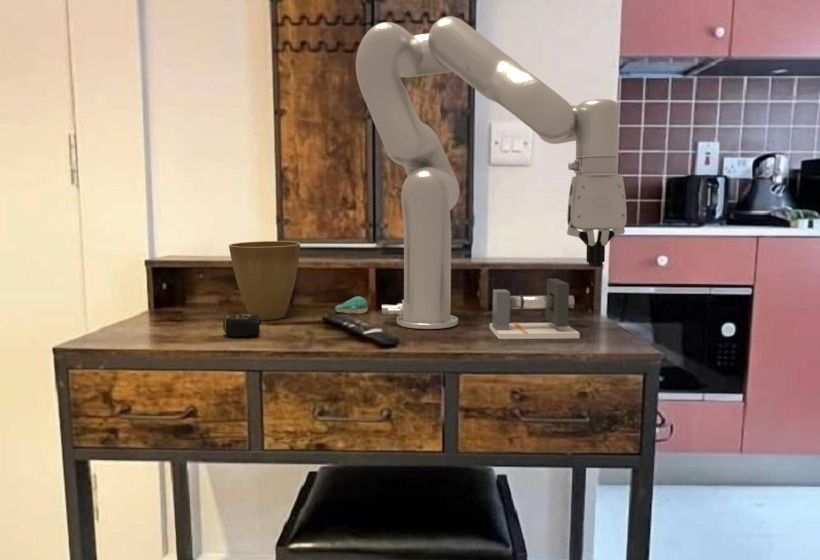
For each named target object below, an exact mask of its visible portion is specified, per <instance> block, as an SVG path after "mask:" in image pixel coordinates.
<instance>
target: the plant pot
mask: <svg viewBox="0 0 820 560" xmlns="http://www.w3.org/2000/svg"><path fill="white" fill-rule="evenodd" d="M228 248H229V253H230V258H231V264H232V268H233V272H234V275H235V281H236V284H237V287H238V289H239V292H240V296H241V298H242V300H243V303H244V306H245V309H246V310H247V314H248V315H258V316H259V317H260V320H261V319H262V321H271V320H278V319H283V318H285V317H286V314H287V311H288V309H289V307H290V306H289V305H290V303H291V299H292V296H293V291H294V288H295V283H296V279H297V273H298V267H299V261H300V259H299V258H300V252H301V242H297V241H291V240H290V241H289V240H262V241H261V240H260V241H259V240H258V241H246V242H244V241H243V242H235V243H230V244H228Z"/></svg>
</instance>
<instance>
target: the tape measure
mask: <svg viewBox="0 0 820 560" xmlns="http://www.w3.org/2000/svg"><path fill="white" fill-rule="evenodd" d="M262 321H263V320H262V319H261V320H260V317H259V316H258V315H249V313H236V314H229V315H226V316H225V317H224V319H223V324H222V326H223V327H222V328H223V331H224V333H225V334H226V335H227V336H232V337H247V336H252V335H253V336H254V335H257V334H259V333H260V325H262Z"/></svg>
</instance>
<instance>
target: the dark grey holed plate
mask: <svg viewBox="0 0 820 560" xmlns="http://www.w3.org/2000/svg"><path fill="white" fill-rule="evenodd" d="M569 292H570V283H568V282H565V281H563V280H561V279H559V278H546V295H545V296H554V308H545V320H547V321H548V322H549V323H552V324H554V325H555V326H557V327H568V326H569V308H568V302H569V296H570V293H569Z"/></svg>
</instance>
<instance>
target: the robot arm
mask: <svg viewBox="0 0 820 560" xmlns="http://www.w3.org/2000/svg"><path fill="white" fill-rule="evenodd" d="M452 72H453V73H454V74H455V75H456V76H458V77H459V78H461V79H462V80H463V81H464V82H465V83H467V84H468V85H469V86H470V87H472V88H473V89H475V91H477V92H478V93H479V94H480V95H481V96H483V97H484V98H486V99H488V100H490V101H492V102H495V103H496V104H498V105H500V106H501V107H503V108H504V109H505V110H507V111H508V112H510V113H511V114H512V115H514V116H515V117H516V118H517V119H518V120H520V122H522V123H523V124H525V126H527V127H529V129H531V130H532V131H534V133H536V134H537V135H538V137H539V138H540V139H541V140H542V141H544V142H545V143H548V144H552V145H557V144H558V145H559V144H563V143H564V144H565V143H568V142H569V143H570V142H575V159H574V161H573V162H568V166H567V168H568V170H569V171H573V172H574V174H575V176H572V178H571V182H570V188H569V193H568V202H567V203H568V204H567V215H566V216H567V225H568V226H567V231H566V234H567V235H568V236H571V237H575V238H579V239H580V240H581V241H582V242H583V243H584V245H585V246H586V263H588V266H589V267H592V268H603V263H605V261H606V256H605V255H606V246H607V245H608V243H609V242H610V241H611V240H612V239H613V238H614V237H617V236H620V235H624V234H625V232H626V231H625V227H626V225H627V221H628V219H627V217H628V216H627V215H628V214H627V211H628V210H627V199H626V198H627V197H626V190H625V183H624V179H623V178H624V177H623V175H622V174H621V175H620V174H619V173H618V170H619V169H618V168H619V167H618V163H619V162H618V161H619V160H618V157H619V106H618V103H617V102H616V101H615V100H612V99H608V98H607V99H606V98H599V99H589V100H585V101H582V102H580V103H578V104H577V105H575V104H574V105H571V103H569V102H568V101H567V100H566V99H565V98H563V97H562V96H561V95H560V94H559V93H557V92H556V91H555V90H553V89H552V88H551V87H550V86H548V85H547V84H546V83H544V82H543V81H542V80H541V79H539V78H538V77H536V76H535V75H533V73H531V72H530V71H528V69H526V68H524V67H523V66H522V65H521V64H520V63H518V61H516V60H514V59H513V58H512V57H511V56H509V55H508V54H507V53H506V52H504V51H503V50H501V49H500V48H499V47H497V45H495V44H493V43H492V42H491V41H490V40H489V39H487V38H486V37H484V36H483V34H481V33H480V32H478V31H477V30H475V29H474V28H473V27H472V26H471V25H469V24H468V23H466V21H464V20H462V19H461V18H458V17H456V16H453V15H452V16H451V15H449V16H444V17H441V18H440V19H439V18H438V20H437V21H436V22H434V23H433V25H432V26H431V28H430V29H429V32H428V33H423V34H413V35H412V34H411V33H410V32H409V31H408V30H406V29H405V28H404V27H402V26H401V25H399V24H398V23H395V22H391V21H390V22H388V21H385V22H384V21H383V22H379V23H377V24H375V25H373V26H372V27H371V28H369V30H368V31H367V32H366V33H365V34H364V36H363V38H362V39H361V42H360V43H359V46H358V48H357V52H356V58H355V74H356V79H357V83H358V87H359V90H360V91H361V92H360V93H361V94H362V97H363V99H364V102H365V104H366V106H367V108H368V111H369V113H370V116H371V118H372V121H373V123H374V126H375V129H376V131H377V132H378V135H379V137H380V139H381V142H382V144H383V147H384V150H385V152H386V154H387V157H388V158H389V159H391V161H392V162H394V163H396V164H397V165H400V166H402V167H403V169H404V171H405V174H406V175H407V177H406V178H405V180H404V182H403V184H402V188H401V194H400V196H401V198H400V200H401V211H402V220H403V254H404V255H403V258H404V259H403V261H404V262H403V280H404V281H403V299H401V302H398V303H397V304H381V314H383V315H391V316H392V315H397V317H396V324H397V325H398V326H401V327H404V328H409V329H418V330H419V329H420V330H422V329H423V330H438V329H446V328H447V329H448V328H452V327H455V326H457V325H458V324H459V317H457V316H455V315H453V314H451V304H452V303H451V300H452V299H451V297H452V296H451V293H452V291H451V290H452V289H451V286H452V282H451V281H452V224H451V222H452V221H451V210H452V209H453V208H454V207H455V206H456V205H457V203H458V201H459V197H460V184H459V182H458V179H457V177H456V174H455V172H454V170H453V168H452V165H451V164H450V163H451V162H450V161H449V158H448V156H447V154H446V151H445V149H444V147H443V145H442V142H441V140H440V139H439V137H438V135H437V133H436V132H435V130H433V129H432V127H431V126H429V125H428V124H426V123H424V122H423V121H422V120H421V119H420V117H419V115H418V113H417V111H416V109H415V107H414V105H413V103H412V100H411V98H410V95H409V92H408V90H407V88H406V87H405V85H404V83H403V81H402V78H415V77H426V76H432V75H439V74H442V75H443V74H447V73H452ZM618 174H619V175H618ZM581 230H582V231H581ZM594 230H598V231H597V235H596V240H595V232H594Z"/></svg>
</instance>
